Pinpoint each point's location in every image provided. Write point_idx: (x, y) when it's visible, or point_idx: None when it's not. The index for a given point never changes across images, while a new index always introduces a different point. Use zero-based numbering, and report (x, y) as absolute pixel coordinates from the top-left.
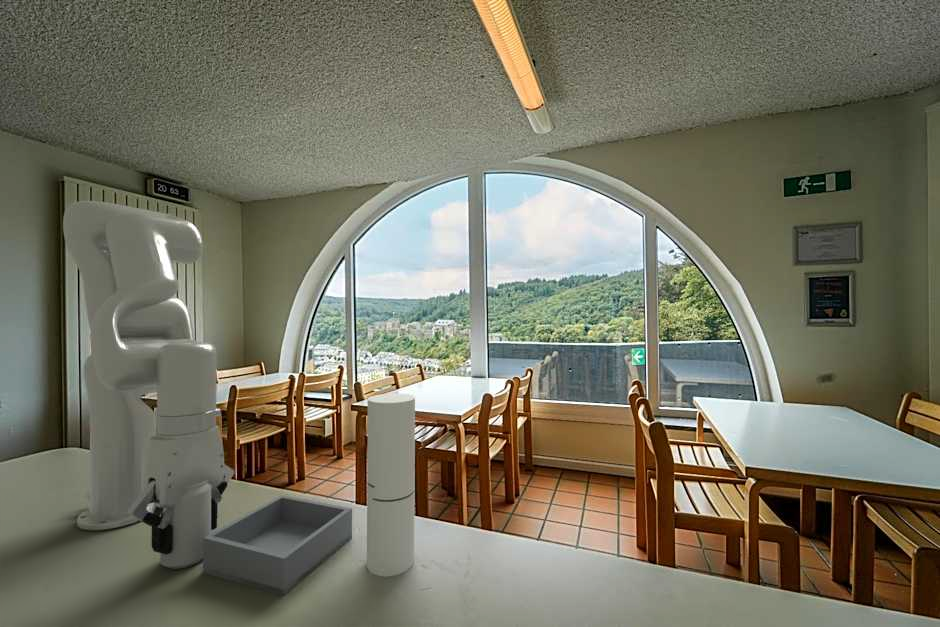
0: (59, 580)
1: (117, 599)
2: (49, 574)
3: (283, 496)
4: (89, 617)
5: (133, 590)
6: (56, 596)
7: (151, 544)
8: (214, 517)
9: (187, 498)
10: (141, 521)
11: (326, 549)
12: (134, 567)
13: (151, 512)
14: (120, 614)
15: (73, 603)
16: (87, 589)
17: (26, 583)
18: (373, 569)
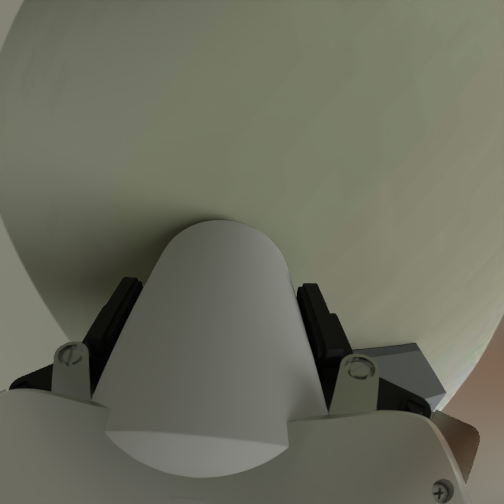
0: (47, 58)
1: (66, 270)
2: (60, 8)
3: (437, 400)
4: (30, 273)
5: (91, 273)
6: (18, 132)
7: (102, 308)
8: None
9: None
10: (28, 375)
11: None
12: (137, 171)
13: (54, 386)
14: (60, 315)
15: (23, 197)
16: (47, 166)
17: (32, 15)
18: None
